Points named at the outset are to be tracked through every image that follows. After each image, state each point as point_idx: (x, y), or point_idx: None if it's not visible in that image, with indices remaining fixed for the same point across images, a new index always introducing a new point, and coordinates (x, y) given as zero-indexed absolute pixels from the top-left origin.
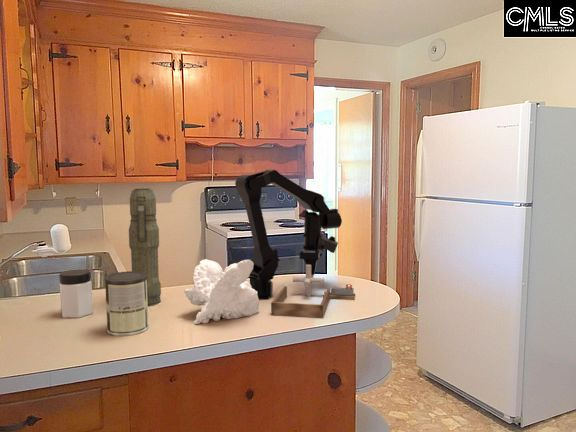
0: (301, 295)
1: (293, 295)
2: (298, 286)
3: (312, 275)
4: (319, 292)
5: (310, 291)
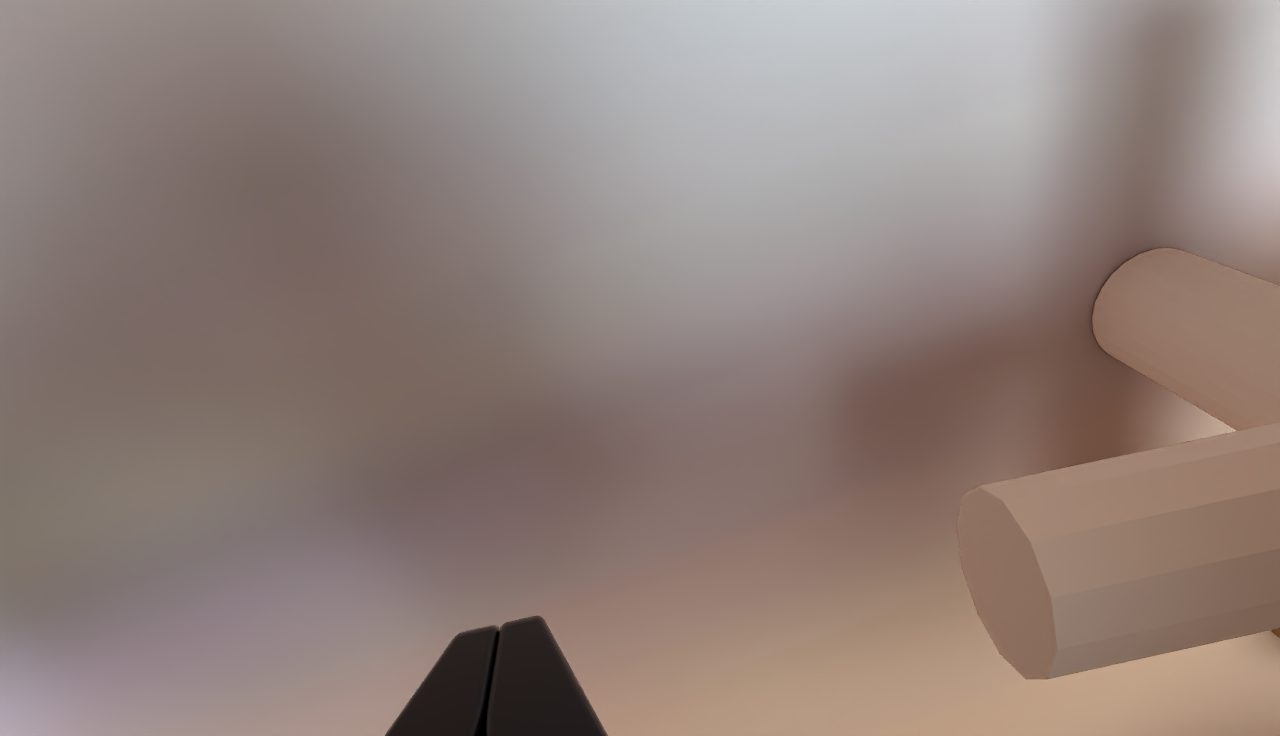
0: (1157, 426)
1: None
2: None
3: (1103, 552)
4: (856, 160)
5: (1267, 281)
